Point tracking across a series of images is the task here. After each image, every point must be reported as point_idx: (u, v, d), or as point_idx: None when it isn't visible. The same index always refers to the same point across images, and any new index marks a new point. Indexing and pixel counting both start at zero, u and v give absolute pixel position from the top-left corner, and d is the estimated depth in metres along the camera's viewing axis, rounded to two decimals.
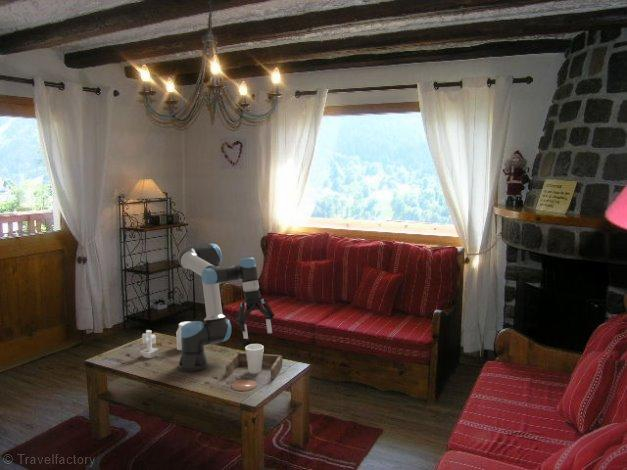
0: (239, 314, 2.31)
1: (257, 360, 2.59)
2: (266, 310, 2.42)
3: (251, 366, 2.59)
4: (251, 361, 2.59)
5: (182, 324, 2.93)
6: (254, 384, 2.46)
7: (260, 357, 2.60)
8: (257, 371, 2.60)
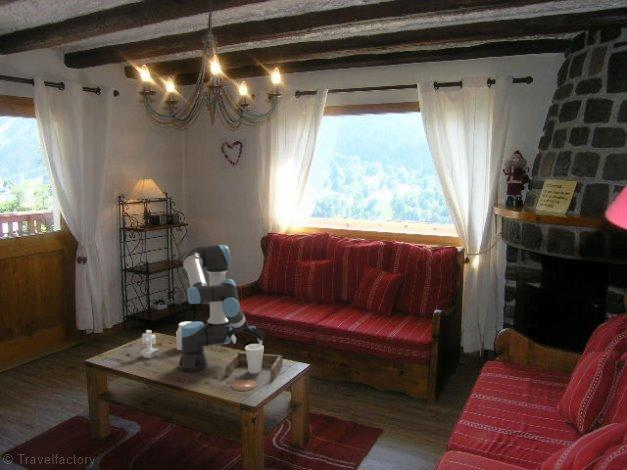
0: (225, 330, 2.43)
1: (257, 360, 2.59)
2: None
3: (251, 366, 2.59)
4: (251, 361, 2.59)
5: (182, 324, 2.93)
6: (254, 384, 2.46)
7: (260, 357, 2.60)
8: (257, 371, 2.60)
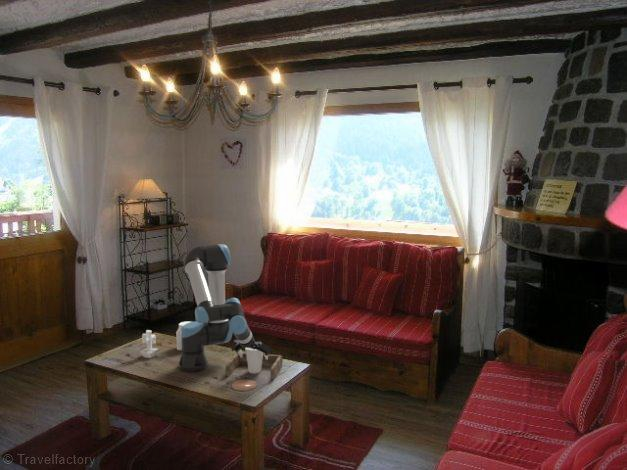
0: (233, 345, 2.52)
1: (257, 360, 2.59)
2: None
3: (251, 366, 2.59)
4: (251, 361, 2.59)
5: (182, 324, 2.93)
6: (254, 384, 2.46)
7: (260, 357, 2.60)
8: (257, 371, 2.60)
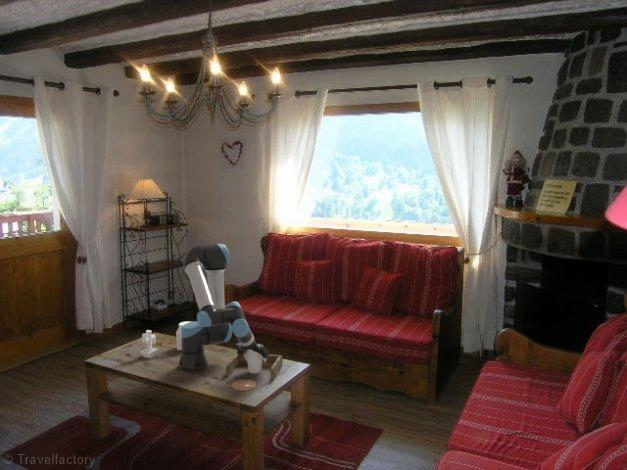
0: None
1: (257, 360, 2.59)
2: None
3: (251, 366, 2.59)
4: (251, 361, 2.59)
5: (182, 324, 2.93)
6: (254, 384, 2.46)
7: (260, 357, 2.60)
8: (257, 371, 2.60)
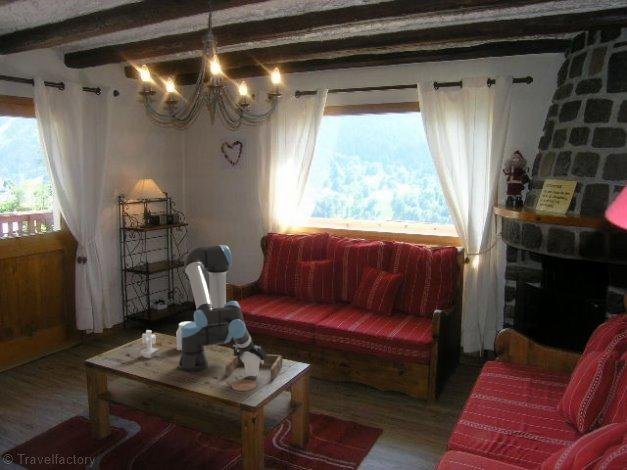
0: None
1: (254, 362, 2.51)
2: None
3: (248, 368, 2.52)
4: (248, 363, 2.51)
5: (182, 324, 2.93)
6: (254, 384, 2.46)
7: (257, 359, 2.52)
8: (254, 373, 2.53)
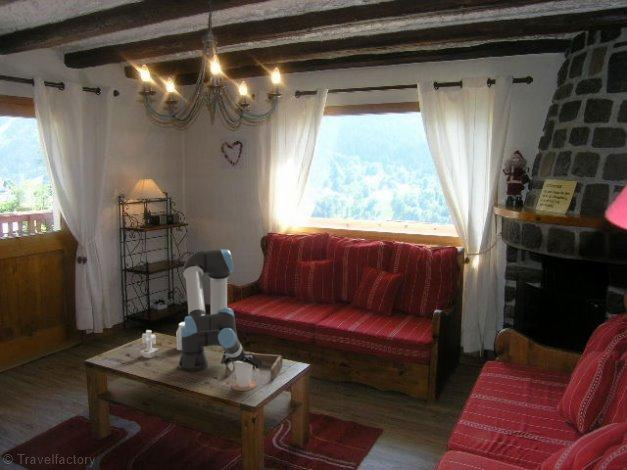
0: (222, 358, 2.40)
1: (246, 373, 2.41)
2: None
3: (240, 379, 2.42)
4: (239, 374, 2.41)
5: (182, 324, 2.93)
6: (254, 384, 2.46)
7: (249, 370, 2.42)
8: (246, 385, 2.43)
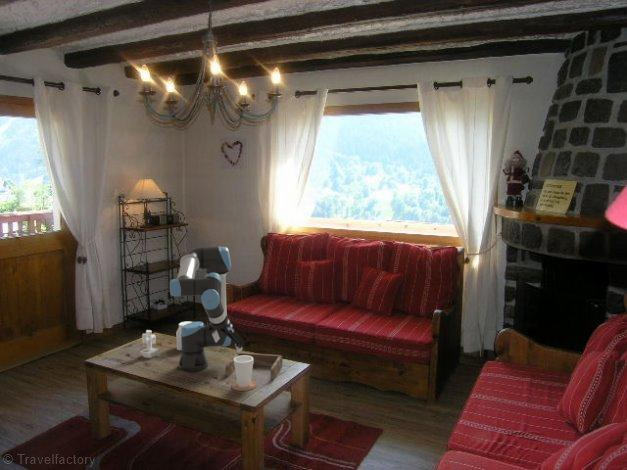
0: None
1: (246, 373, 2.41)
2: None
3: (240, 379, 2.42)
4: (239, 374, 2.41)
5: (182, 324, 2.93)
6: (254, 384, 2.46)
7: (249, 370, 2.42)
8: (246, 385, 2.43)
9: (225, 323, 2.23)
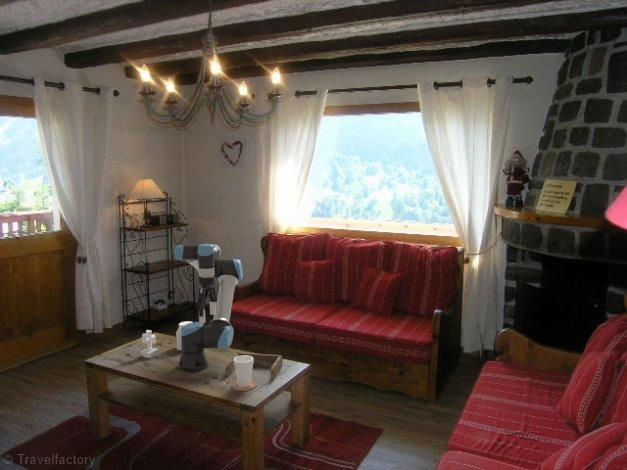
0: None
1: (246, 373, 2.41)
2: (203, 301, 2.39)
3: (240, 379, 2.42)
4: (239, 374, 2.41)
5: (182, 324, 2.93)
6: (254, 384, 2.46)
7: (249, 370, 2.42)
8: (246, 385, 2.43)
9: (203, 281, 2.42)
